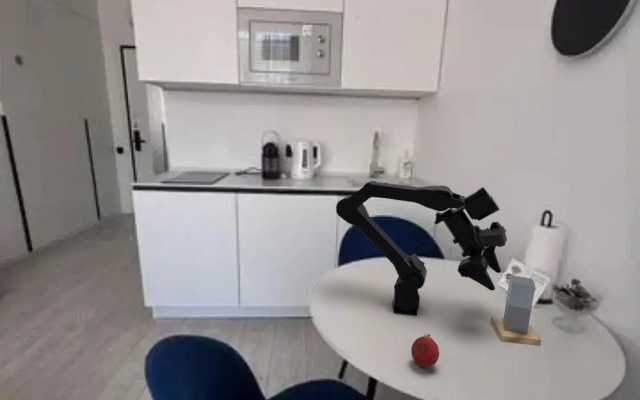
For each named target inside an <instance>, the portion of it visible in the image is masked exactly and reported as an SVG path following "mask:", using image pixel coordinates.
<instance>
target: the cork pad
mask: <svg viewBox="0 0 640 400" xmlns="http://www.w3.org/2000/svg"><path fill="white" fill-rule="evenodd" d="M503 318H504V317H494V316H490V320H489V322H490V324H491V326H492V328H493V330H494V332H495V333H496V335H497V337H498V338H499V340H500V341H501V342H504V343H512V344H513V343H514V344H523V345H524V344H525V345H534V346H541V343H542V339H541V338H540V336H539V335H538V334H537V332H536V331H535V330H534V329H533V327H532V326H531V324H529V325H528V331H527V335H523V334H519V333H514V332H510V331H505V330H504V324H503Z"/></svg>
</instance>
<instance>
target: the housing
mask: <svg viewBox="0 0 640 400" xmlns="http://www.w3.org/2000/svg"><path fill="white" fill-rule="evenodd" d="M508 281H509V282H508V288H507V289H508V290H507V294H506V295H507V296H506V299H505V307H504V312H503V313H504V314H503V317H502V318H503V324H504V330H505V331H510V332H514V333H519V334H523V335H527V331H528V325H530V318H531V314H532V307H533V301H534V297H535V290H536V284H535V282H534V279H533V278H529V277H524V276H520V275H519V276H518V275H512V274H510V277H509V280H508Z"/></svg>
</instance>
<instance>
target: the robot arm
mask: <svg viewBox="0 0 640 400" xmlns="http://www.w3.org/2000/svg"><path fill="white" fill-rule="evenodd" d="M371 198H380V199H388V200H395V201H401V202H402V201H403V202H407V203H408V202H409V203H415V204H418V205H420V206H422V207H424V208H427V209H430V210H434V211H436V213H435V221H434V224H435V225H438V224H440V223H442V222H443V223H444V225H445V226H446V228H447V230H448V231H449V232H450V233H451V235H452V237H453V239H452V242H453V244H454V245H457V244H458V246H459V247H460V249H461V251H462V253H461V255H462V257H463V259H461V260H460V262H459V264H458V267H457V272H458V274H459V275H460V276H461V277H462V278H469V279H471V280H473V281H474V282H476V283H478V284H480V285H482V286H483V287H485V288H486V289H487V290H489V291H491V292H492V291H494V290H496V287H495V284H494V282H493V280H492V278H491V276H490V275H489V272H488V271H487V270H488V267H489V268H490V269H492V270H493V271H494V272H495V273H497V274H499V273H502V269H501V267H500V263H499V261H498V257H497V253H496V247H498V248H500V247H505V245H506V243H507V241H508V238H507V234H506V232H507V229H506V228H505V226H503V225H502V224H501V223H500V222H499V221H492V222H491V224H490V226H489V227H486V228H485V229H481V227H480V226H479V225H477V224H476V225H474V224H473V223H472V221H471V220H474V221H476V220H477V221H479V222H480V221H482V220H483V219H485V218H487V217H489V216H490V215H494V214H495V213H496V212H499V211H500V207H499V206H498V204H497V202H496V201H495V199H494V198H493V196H492V195H490V193H489V192H488V191H487V189H486V188H485V187H483V186H482V187H480V188H478V190H476V191H475V192H473V193H471V194H469V195H468V196H464V195H462V194H459V193H455V192H453V191H452V189H451V188H450V187H449V186H446V185H429V186H428V185H427V186H412V185H410V186H409V185H402V184H394V183H387V182H380V181H376V180H370V181H368V182H366V183H365V184H363V186H362V187H361V188H360V189H359V190H357V191H356V192H354V193H353V194H348V195H347V196H345V197H343V198H342V199H339V200H338V201H337V203H336V206H335V207H336V208H335V212H336V215H337V216H338V217H339V218H341V219H342V220H343V221H345V222H346V223H347V224H349V225H351V226H353V227H356V228H358V229H359V230H360V232H361V233H362V234H364V235H363V236H365V237H366V238H367V239H368V240H369V241H370V242H371V243H372V244H373V245H374V246H375V248H377V250H379V252H380V253H382V254H383V256H384V257H385V258H386V259H387V261H389V262H390V263H391V264H392V265H393V267H394V269H395V271H396V273H397V275H398V276H397V279H396V281H395V282H394V285H393V288H394V289H393V290H394V291H393V300H392V311H393V313H394V314H399V315H401V314H403V315H409V316H410V315H413V316H417V315H418V311H419V308H420V300H421V297H420V296H421V295H420V293H419V289H422V287H423V286H424V284H425V282H426V278H427V273H428V270H427V267H426V266H425V264H426V262H424V261H422V260H421V259H420V258H419V257H418V255H417V254H416V253H413V254H412V255H409V254H407V253H405V251H403V250H402V249H401V248H400V247H399V246H398V245H397V244H396V243H395V242H394V241H393V239H392V238H391V237H390V236H388V234H387V233H386V232H385V230H383V229H382V228H381V227H380V226H379V225H378V224H377V223H376V222H375V221H374V220H373V218H372V217H370V215H369V212H368V210H367V208H366V206H365V204H364V203H366V202H367V201H368V200H369V199H371ZM464 210H465V211H464Z"/></svg>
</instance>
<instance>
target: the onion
mask: <svg viewBox="0 0 640 400" xmlns="http://www.w3.org/2000/svg"><path fill="white" fill-rule="evenodd" d="M410 349H411V350H410V351H411V357H412V359H413V361H414V362H415V363H416V364H417V365H418V366H420V367H421V368H429V367H432V366H434V365H435V364H436V363H437V362H438V361H439V357H440V349H439V345H438V344H437V342H436V341H435V340H434V339H433V338H431V334H430V333H429V332H425V333H424V335H423V336H420V337H418V338H416V339H415V340H414V341H413V343H412V345H411V348H410Z"/></svg>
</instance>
